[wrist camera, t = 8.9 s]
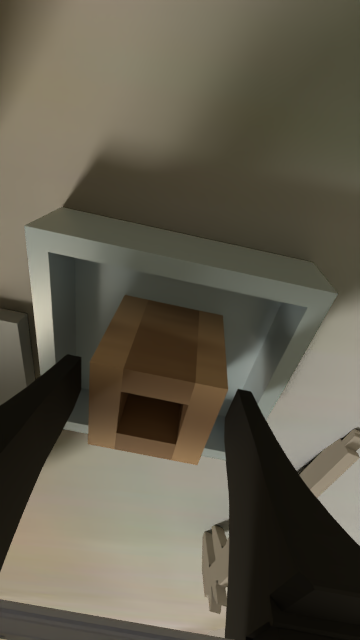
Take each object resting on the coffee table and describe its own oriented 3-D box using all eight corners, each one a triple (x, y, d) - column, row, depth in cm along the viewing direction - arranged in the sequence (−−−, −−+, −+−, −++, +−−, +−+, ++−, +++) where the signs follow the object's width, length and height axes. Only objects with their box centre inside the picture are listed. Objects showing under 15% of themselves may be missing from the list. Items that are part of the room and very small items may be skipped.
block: (200, 384, 17) (197, 464, 13) (117, 367, 17) (87, 443, 13) (222, 315, 14) (228, 389, 10) (124, 294, 14) (89, 361, 10)
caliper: (211, 533, 30) (212, 617, 25) (202, 530, 30) (201, 614, 25) (364, 429, 19) (422, 539, 14) (352, 424, 19) (406, 532, 14)
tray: (237, 419, 20) (241, 463, 17) (68, 386, 19) (45, 425, 17) (312, 262, 13) (338, 293, 11) (61, 207, 13) (24, 225, 10)
